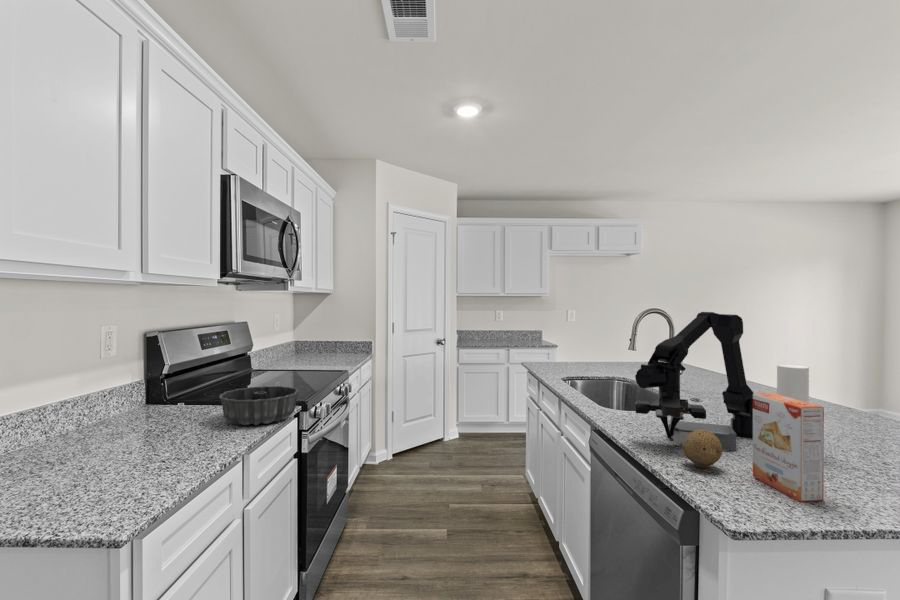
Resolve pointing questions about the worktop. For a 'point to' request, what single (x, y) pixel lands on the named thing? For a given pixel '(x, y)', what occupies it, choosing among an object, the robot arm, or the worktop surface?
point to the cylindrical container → (793, 381)
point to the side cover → (680, 437)
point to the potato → (702, 448)
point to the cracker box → (789, 445)
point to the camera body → (720, 431)
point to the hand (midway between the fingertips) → (669, 438)
